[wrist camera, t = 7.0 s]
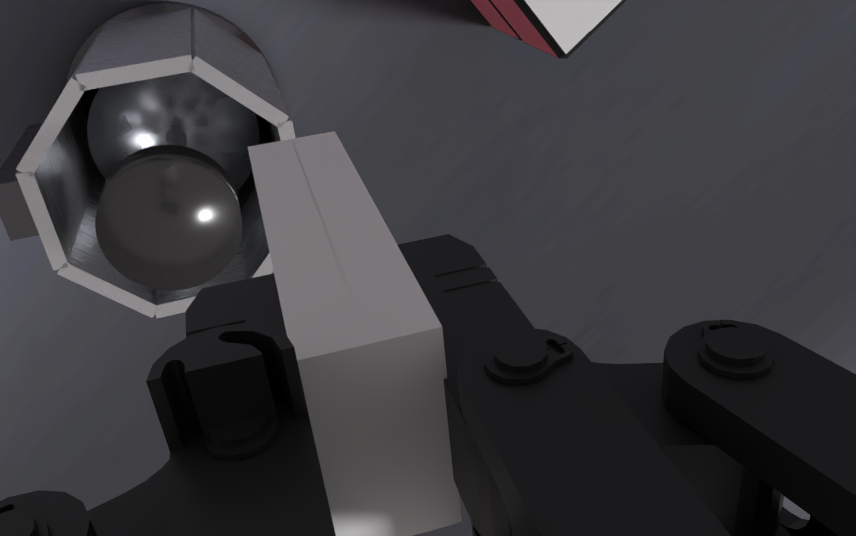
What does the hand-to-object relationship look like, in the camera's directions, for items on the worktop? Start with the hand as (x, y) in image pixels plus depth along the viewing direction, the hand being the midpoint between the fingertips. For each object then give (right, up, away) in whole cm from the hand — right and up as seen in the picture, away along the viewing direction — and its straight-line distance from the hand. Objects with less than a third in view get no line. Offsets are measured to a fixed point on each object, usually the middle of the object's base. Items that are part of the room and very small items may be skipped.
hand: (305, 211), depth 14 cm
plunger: (-10, +6, +25) cm, 27 cm away
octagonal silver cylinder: (-12, +8, +29) cm, 32 cm away
